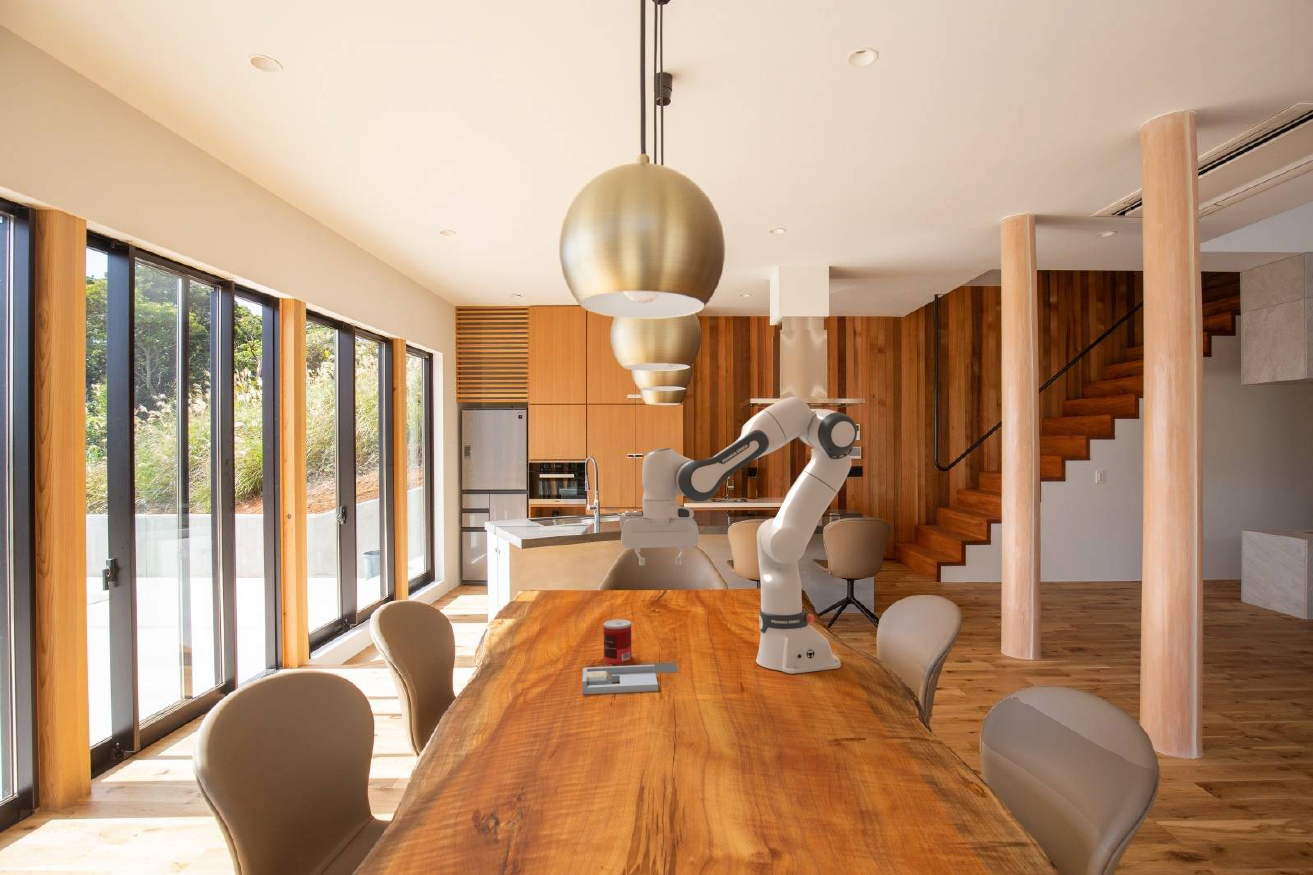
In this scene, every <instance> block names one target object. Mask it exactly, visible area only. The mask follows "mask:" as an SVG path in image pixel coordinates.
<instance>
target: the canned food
mask: <svg viewBox="0 0 1313 875" xmlns="http://www.w3.org/2000/svg"><path fill="white" fill-rule="evenodd" d="M602 629H603V662H605V663H608V664H613V665H614V664H615V665H618V664H620V665H621V664H625V663H628V662H631V660H632V622H631V621H630V620H627V619H617V618H616V619H610V620H607V621H605V622H603V628H602Z"/></svg>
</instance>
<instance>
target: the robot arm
mask: <svg viewBox="0 0 1313 875" xmlns="http://www.w3.org/2000/svg"><path fill="white" fill-rule="evenodd" d="M857 436H858V427H857V424H856V422H855V420H854V419H852V418H851V416H849V415H847V414H845V413H843V412H838V411H836V410H832V409H827V408H826V409H825V408H824V409H823V408H816V407H810V406H809V405H808V403H807V402H806V401H805V400H804V399H802V398H801V397H798V396H790V397H786V398H783V399H781V400H779V401H777V402H775V403H772V404H770V405H769V406H767V407H765V408H764V409H762V410H760V411H759V412H757V413H756V414H755V415H753V416H752V417H751V418H750V419H749V420H748V421H746V423H745V424H743V425H742V427H741V433H740V436H739V437H738V439H736V441H734V442H733V443H731V444H730V445H729V446H726V447H725V448H724V449H723V450H721V451H719V452H718V453H717V454H714V456H712V457H710V458H706V459H700V460H699V459H698V460H693V459H691V458H688V457H686V456H684V455H681V454H680V453H678V452H676V451H675V450H674V449H673V448H670V447H664V448H660V449H655V450H650V451H649V452H647V453H646V454H645V455H644V457H643V461H642V472H641V475H642V476H641V478H642V480H641V484H642V487H643V495H642V499H641V501H642V510H641V511H640V510H638V511H625V513H622V514H621V515H620V517H619V527H620V528H621V535H620V543H621V544H620V545H621V546H622V547H623V549H632V548H633V549H634V553H635V554H636V556H637V558H638V565H639V566H646V558H645V557H642V556H641V554H640V552H641V548H643V549H644V548H675V547H676V548H678V547H679V551H680V552H679V554H678V556H675V557H674V560H675V561H674V562H675V565H682V562H683V561H682V558H683V556H684V555H685V552H686V547H697V546H698V544H700V536H699V535H700V534H699V527H698V524H697V523H698V522H696V520H695V519H694V516H695V513H694V512H695V511H694V510H693V509H692V508H691V507H690V508H689V507H686V506H684V505H682V504H678V503H677V497H678V496H679V495H681V496H685V497H686V498H687V499H689V500H691V501H694V502H704V501H707V500H710V499H712V498H713V497H714V496H715V495H716V494H717V493H718V491H719V490H720V488H721V486H722V485H723V484H724V482H726V480H727V479H728V478H729V477H730V476H733V474H735V473H736V472H737V471H739V470H741V469H743V467H745V466H747V465H748V464H749V463H751V462H753V461H754V460H756V459H759V458H762V457H763V456H766V455H769V454H771V453H772V452H775V451H777V450H779V449H781V448H782V447H784V446H786V445H787V444H788V443H790V442H791V441H793V440H794V439H797V440H798V441H799V442H801V443H802V444H803V445H807V446H809V447H811V448H813V449H812V456H811V458H810V461H809V462H808V464H806V466H805V467H804V468H803V470H802V472H801V473H800V474H799V475H798V477H797V479H796V480H795V481H794V483H793V485H792V486H791V487H790V489H789V491H788V492H787V493H786V495H785V498H784V501H783V502H782V504H781V507H780V509H779V511H778V512H777V514H776V516H775V517H772V518H769V519H766V520H764V522H762V523H761V524H760V525H759V527H758V529H757V531H756V546H757V547H756V549H757V550H756V551H757V558H758V570H759V578H760V579H759V580H760V609H759V616H758V621H759V623H758V624H759V625H758V626H759V630H760V637H759V638H760V639H759V646H758V652H757V656H756V660H755V662H756V663H757V664H758V665H759V666H761V667H763V668H765V669H766V668H767V669H770V670H774V671H780V672H783V673H787V674H791V675H792V674H800V673H801V674H802V673H808V672H809V673H810V672H818V671H826V670H827V671H828V670H833V669H839V668H841V666H842V664H841V660H840V658H839V657H838V656H836V655H835V654H834V653H832V647H831V644H830V642H829V640H828V639H827V637H825V635H823V634H822V633H820V632H819V631H818V630H817V629H816V628H814V627H813V626H812V625H810V623H814V621H815V620H816V618H815V616H814V615H813V614H812V613H808V612H806V611H805V610H803V608H802V607H803V605H802V604H803V600H802V599H803V598H802V594H803V593H802V579H801V575H800V570H799V563H798V561H800V559H801V558H802V557H803V556H804V554H805V552H806V549H807V546H808V544H809V542H810V540H811V538H812V536H813V534H814V533H815V531H816V528H817V526H818V524H819V522H820V520H821V518H823V515H824V513H825V512H826V511H827V509H828V507H829V506H830V505H831V503H832V501H833V500H834V498H835V497H836V496H837V494H838V493H839V491H840V490H841V488H842V487H843V485H844V483H845V481H846V480H847V477H848V475H849V473H850V471H851V468H852V458H851V457H850V454H851V452H852V451H853V447H854V445H855V443H856V440H857Z"/></svg>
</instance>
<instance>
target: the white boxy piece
mask: <svg viewBox="0 0 1313 875" xmlns="http://www.w3.org/2000/svg"><path fill="white" fill-rule="evenodd" d="M589 682H591V683H589ZM607 684H613V682H612V671H591V672H587V685H607Z"/></svg>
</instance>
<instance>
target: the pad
mask: <svg viewBox="0 0 1313 875" xmlns="http://www.w3.org/2000/svg"><path fill="white" fill-rule="evenodd" d="M641 665H655V674H670V673H671V674H673V673H680V672H679V669H678V666H677V663H676V662H657V663H655V662H652V663H649V662H648V663H642V664H641Z"/></svg>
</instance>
